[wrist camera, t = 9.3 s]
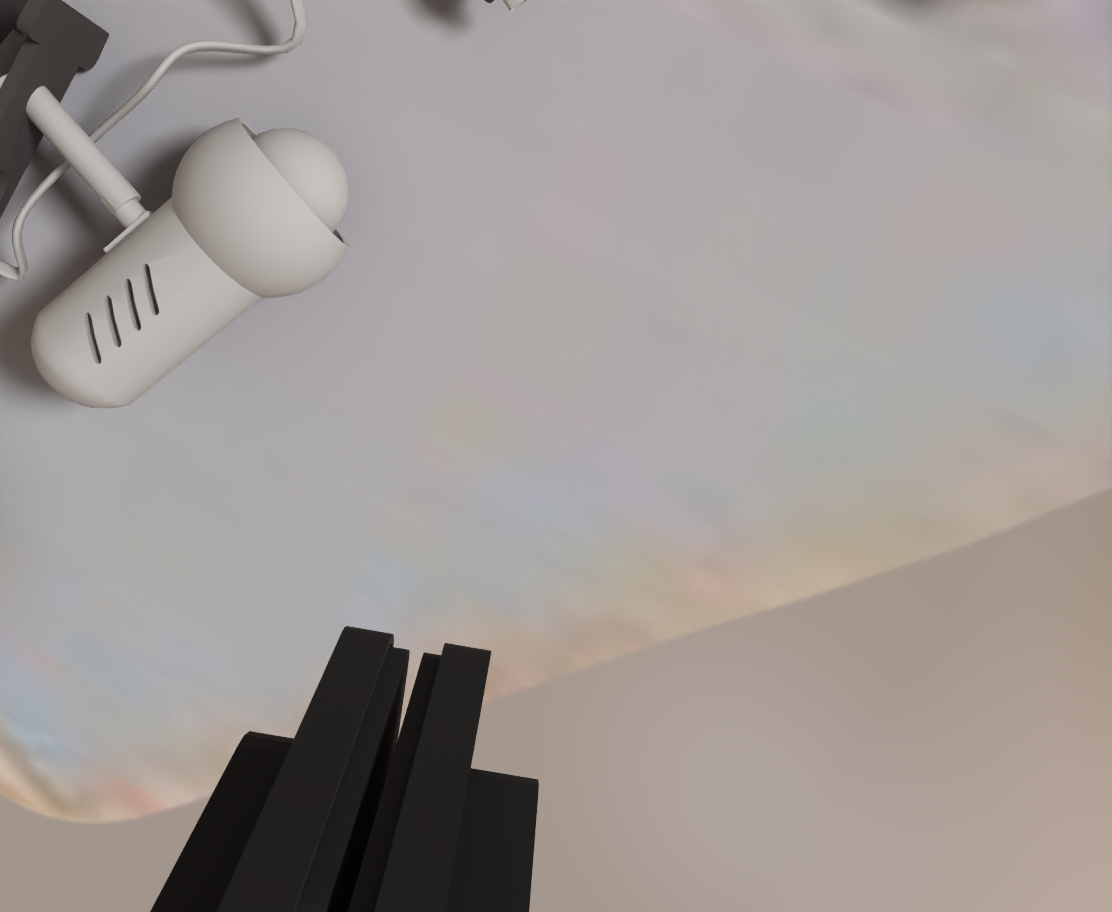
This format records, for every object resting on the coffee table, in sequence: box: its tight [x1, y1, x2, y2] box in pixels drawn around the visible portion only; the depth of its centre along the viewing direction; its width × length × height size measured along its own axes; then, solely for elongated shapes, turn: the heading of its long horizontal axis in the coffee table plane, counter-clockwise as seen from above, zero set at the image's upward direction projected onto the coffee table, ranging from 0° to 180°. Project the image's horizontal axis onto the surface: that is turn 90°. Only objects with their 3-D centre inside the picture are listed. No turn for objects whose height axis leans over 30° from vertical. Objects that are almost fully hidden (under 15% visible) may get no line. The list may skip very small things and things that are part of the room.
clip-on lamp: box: [0, 0, 526, 408], centre depth 27 cm, size 12×6×18 cm
